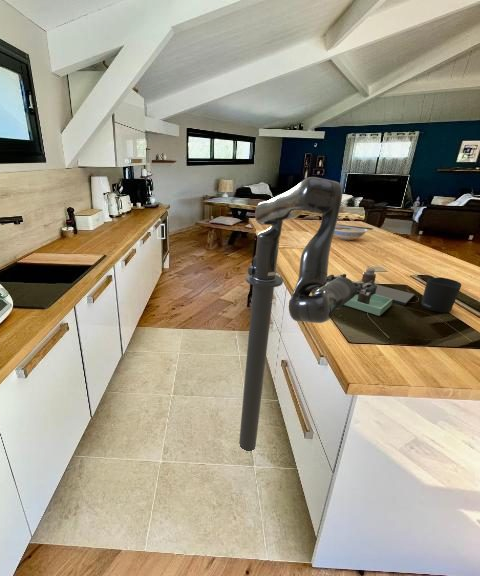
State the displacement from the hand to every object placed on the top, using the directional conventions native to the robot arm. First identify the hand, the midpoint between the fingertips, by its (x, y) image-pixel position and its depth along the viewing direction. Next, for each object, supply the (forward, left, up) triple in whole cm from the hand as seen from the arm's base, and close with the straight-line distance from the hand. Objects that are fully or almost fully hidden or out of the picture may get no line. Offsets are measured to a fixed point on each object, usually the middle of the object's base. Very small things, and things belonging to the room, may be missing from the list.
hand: (358, 280), depth 102 cm
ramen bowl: (-47, +113, -12) cm, 123 cm away
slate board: (+1, +27, -12) cm, 30 cm away
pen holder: (+19, +27, -12) cm, 35 cm away
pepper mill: (0, +11, -11) cm, 16 cm away
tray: (0, +11, -12) cm, 16 cm away
